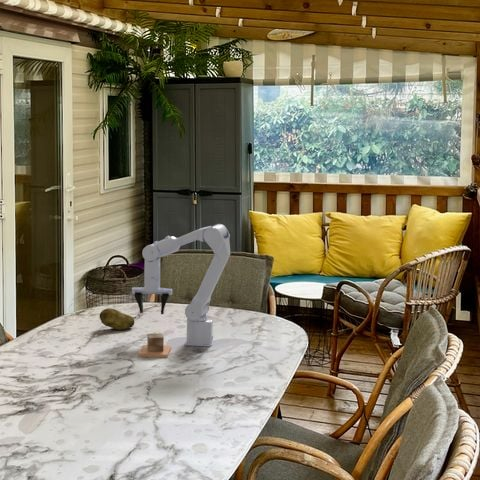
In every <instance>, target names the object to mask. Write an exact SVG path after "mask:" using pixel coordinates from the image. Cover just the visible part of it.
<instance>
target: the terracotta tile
mask: <svg viewBox="0 0 480 480" xmlns="http://www.w3.org/2000/svg"><path fill="white" fill-rule="evenodd" d="M171 351H172V345H164V347H163V352H149V351H148V348H147V344H143V345H142V347H141V348H140V350H139V352H138V355H137V356H138V357H147V358H168V357H169V356H170V353H171Z"/></svg>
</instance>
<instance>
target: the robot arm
mask: <svg viewBox="0 0 480 480" xmlns="http://www.w3.org/2000/svg"><path fill="white" fill-rule="evenodd" d="M230 237H231V235H230V233H229V230H228V228H227V227H226V226H225V225H224V224H221V223H216V224H214V225H208V226H204V227H201V228H199V229H196V230H193V231H191V232H189V233H186V234H184V235H181V236H179V237H175V236H174V235H173V236H170V235H167V236H165V237H164V238H163V239H161V240H159V241H158V240H156V241H153V243H152V244H147V245H146V246H145V247H144V248H143V249H142V258H143V259H144V279H143V280H144V285H143V286H141V287H140V286H139V287H138V286H137V287H132V288H131V294H133V295H134V299H135V300H136V303H137V306H138V310H139V313H140V314H143V312H144V294H146V295H161V296H160V298H161V299H160V301H161V303H160V304H161V305H160V307H161V308H160V314H161V315H164V314H165V313H164V312H165V307H166V304H167V302H168V299H169V297H170V296H173V288H167V287H166V288H165V287H161V258H162V257H166V256H168V255H172V254H173V253H176V252H178V251H179V250H180V248H181V246H185V245H187V244H190V243H192V242H196V241H199V242H202V243H203V242H205V243H206V244H207V245H208V246H209V247H210V248H211V250H212V252H213V254H214V256H213V258H212V260H211V262H210V264H209V267H208V269H207V271H206V273H205V275H204V277H203V279H202V282H201V284H200V285H199V288H198V290H197V292H196V294H195V295H194V297H193V298H192V300H191V302H190V303H189V304H187V306H185V308H184V314H185V317H186V339H185V342H184V346H193V347H211V346H212V343H213V339H214V335H213V329H214V328H213V323H214V321H213V319H209V318H208V317H207V314H208V312H210V311H209V310H210V302H211V299H212V298H211V297H212V295H213V292H214V290H215V288H216V286H217V284H218V282H219V279H220V278H221V276H222V273H223V271H224V269H225V266H226V265H227V262H228V261H229V259H230V256H231V244H230Z"/></svg>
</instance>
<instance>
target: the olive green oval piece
mask: <svg viewBox="0 0 480 480" xmlns="http://www.w3.org/2000/svg"><path fill="white" fill-rule="evenodd" d="M99 319H100V321H101V323H102V324H103V325H104V326H105V327H108V328H112V329H113V330H116V331H122V330H123V331H124V330H127V329H130V328H132V327H134V325H135V318H134V317H133V316H131V315H129V314H126V313H123V312H121V311H119V310H117V309H115V308H104V309H103V310H101V312H100V313H99Z"/></svg>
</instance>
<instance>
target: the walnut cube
mask: <svg viewBox="0 0 480 480" xmlns="http://www.w3.org/2000/svg"><path fill="white" fill-rule="evenodd" d="M164 338H165V337H164V335H163V333H147V338H146V339H147V344H146V345H147V348H148V351H149V352H163V347H164V346H165V345H164V342H165V341H164Z"/></svg>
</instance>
